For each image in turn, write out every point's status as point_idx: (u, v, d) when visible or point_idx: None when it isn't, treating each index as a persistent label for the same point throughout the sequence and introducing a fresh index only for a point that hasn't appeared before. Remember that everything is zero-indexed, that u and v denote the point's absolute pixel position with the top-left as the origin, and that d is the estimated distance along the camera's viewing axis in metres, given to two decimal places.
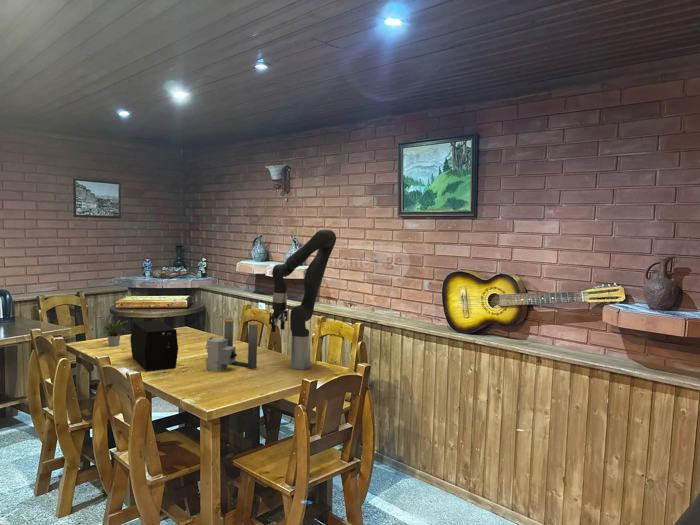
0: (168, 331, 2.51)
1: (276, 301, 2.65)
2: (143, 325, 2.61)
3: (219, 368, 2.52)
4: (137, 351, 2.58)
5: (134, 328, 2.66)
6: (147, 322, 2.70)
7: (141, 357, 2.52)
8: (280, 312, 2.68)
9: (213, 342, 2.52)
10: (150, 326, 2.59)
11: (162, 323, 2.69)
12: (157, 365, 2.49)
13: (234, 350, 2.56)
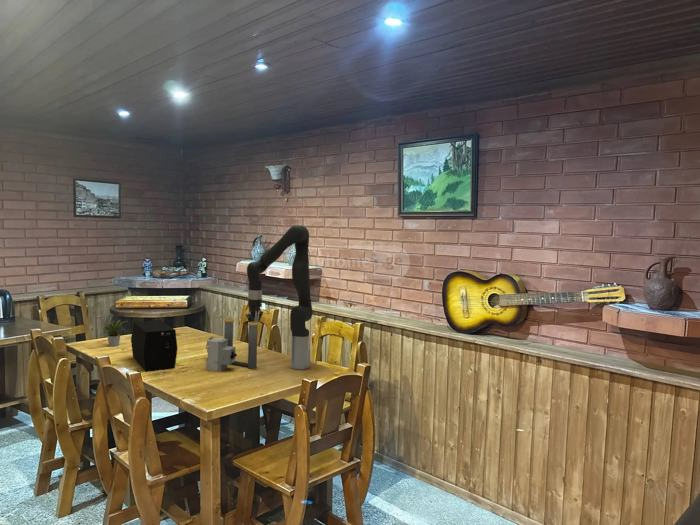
0: (167, 331, 2.51)
1: (251, 298, 2.69)
2: (143, 325, 2.62)
3: (219, 368, 2.52)
4: (137, 351, 2.59)
5: (134, 328, 2.67)
6: (147, 322, 2.71)
7: (140, 357, 2.52)
8: (256, 309, 2.72)
9: (213, 342, 2.52)
10: (150, 326, 2.59)
11: (162, 323, 2.69)
12: (156, 365, 2.48)
13: (234, 350, 2.56)
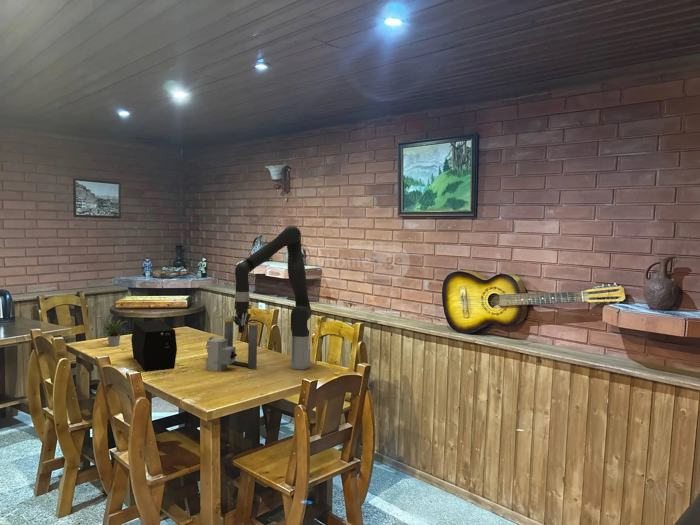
0: (167, 331, 2.50)
1: (238, 300, 2.59)
2: (143, 325, 2.62)
3: (219, 368, 2.52)
4: (137, 351, 2.59)
5: (135, 328, 2.67)
6: (148, 322, 2.71)
7: (140, 357, 2.52)
8: (243, 311, 2.62)
9: (213, 342, 2.52)
10: (150, 326, 2.59)
11: (162, 323, 2.69)
12: (155, 365, 2.48)
13: (234, 350, 2.56)
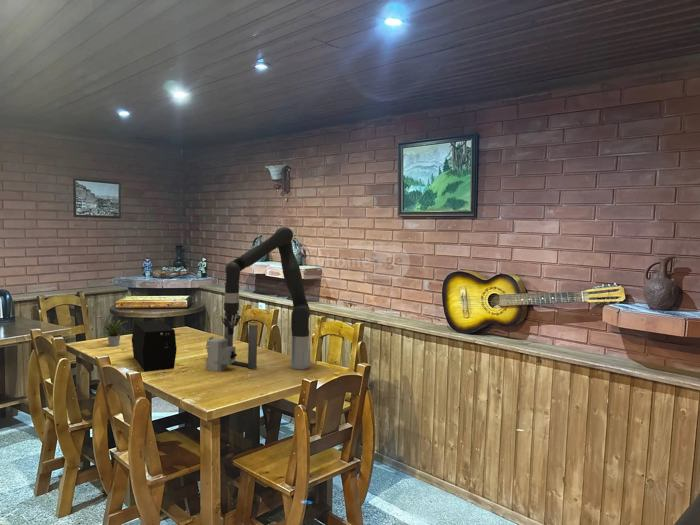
0: (166, 331, 2.50)
1: (227, 301, 2.52)
2: (143, 325, 2.62)
3: (219, 368, 2.52)
4: (137, 351, 2.59)
5: (135, 328, 2.67)
6: (148, 322, 2.71)
7: (140, 357, 2.52)
8: (232, 313, 2.55)
9: (213, 342, 2.52)
10: (150, 326, 2.59)
11: (162, 323, 2.69)
12: (155, 365, 2.48)
13: (234, 350, 2.56)
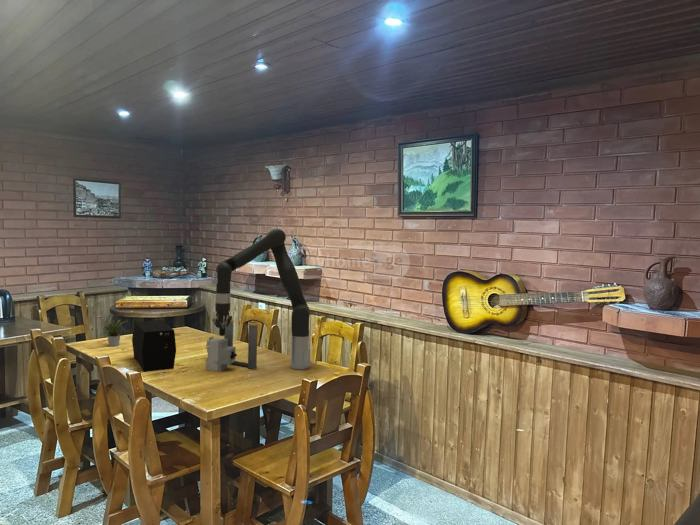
0: (166, 331, 2.50)
1: (218, 302, 2.50)
2: (143, 325, 2.62)
3: (219, 368, 2.52)
4: (137, 351, 2.59)
5: (135, 328, 2.67)
6: (148, 322, 2.71)
7: (140, 357, 2.52)
8: (224, 314, 2.53)
9: (213, 342, 2.52)
10: (150, 326, 2.59)
11: (163, 323, 2.69)
12: (154, 365, 2.48)
13: (234, 350, 2.56)
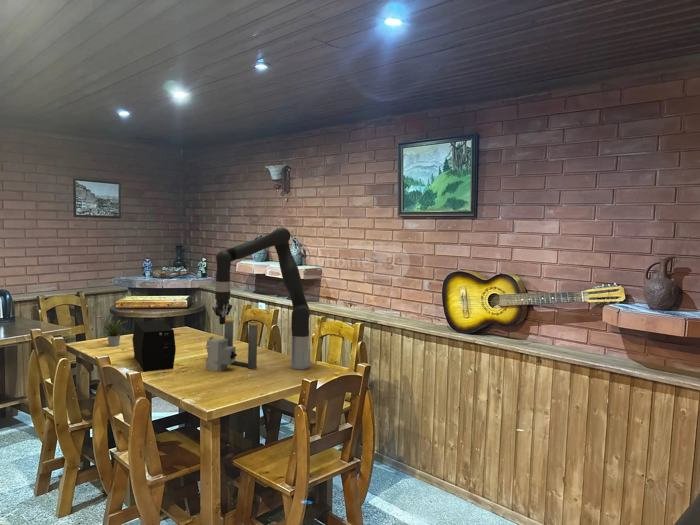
0: (165, 331, 2.50)
1: (218, 290, 2.49)
2: (143, 325, 2.62)
3: (219, 368, 2.52)
4: (137, 351, 2.59)
5: (135, 328, 2.67)
6: (148, 322, 2.71)
7: (139, 357, 2.52)
8: (224, 302, 2.52)
9: (213, 342, 2.52)
10: (149, 326, 2.59)
11: (163, 323, 2.69)
12: (154, 365, 2.48)
13: (234, 350, 2.56)
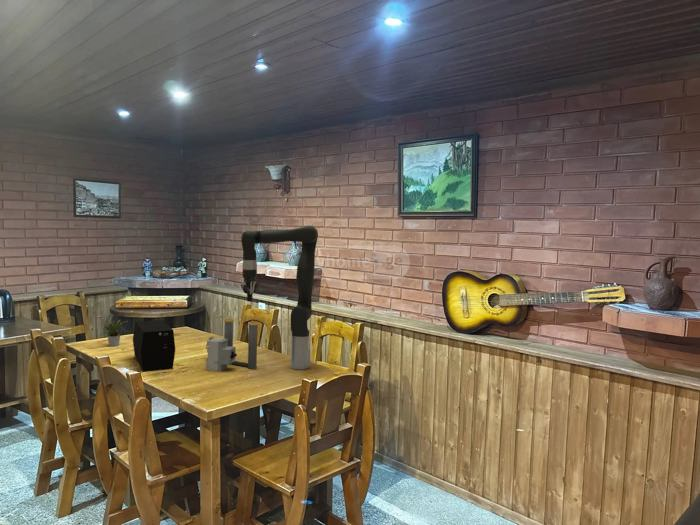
0: (165, 331, 2.50)
1: (246, 268, 2.60)
2: (143, 325, 2.62)
3: (219, 368, 2.52)
4: (137, 351, 2.59)
5: (135, 328, 2.67)
6: (149, 322, 2.71)
7: (139, 357, 2.52)
8: (251, 280, 2.63)
9: (213, 342, 2.52)
10: (149, 326, 2.59)
11: (163, 323, 2.69)
12: (153, 365, 2.48)
13: (234, 350, 2.56)
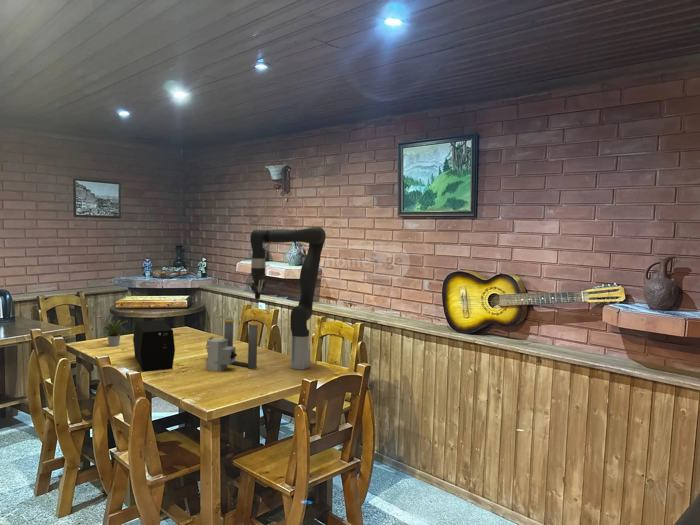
0: (164, 331, 2.50)
1: (254, 267, 2.63)
2: (143, 325, 2.62)
3: (219, 368, 2.52)
4: (137, 351, 2.59)
5: (136, 328, 2.67)
6: (149, 322, 2.71)
7: (139, 357, 2.52)
8: (259, 278, 2.66)
9: (213, 342, 2.52)
10: (149, 326, 2.59)
11: (163, 323, 2.69)
12: (153, 365, 2.48)
13: (234, 350, 2.56)
